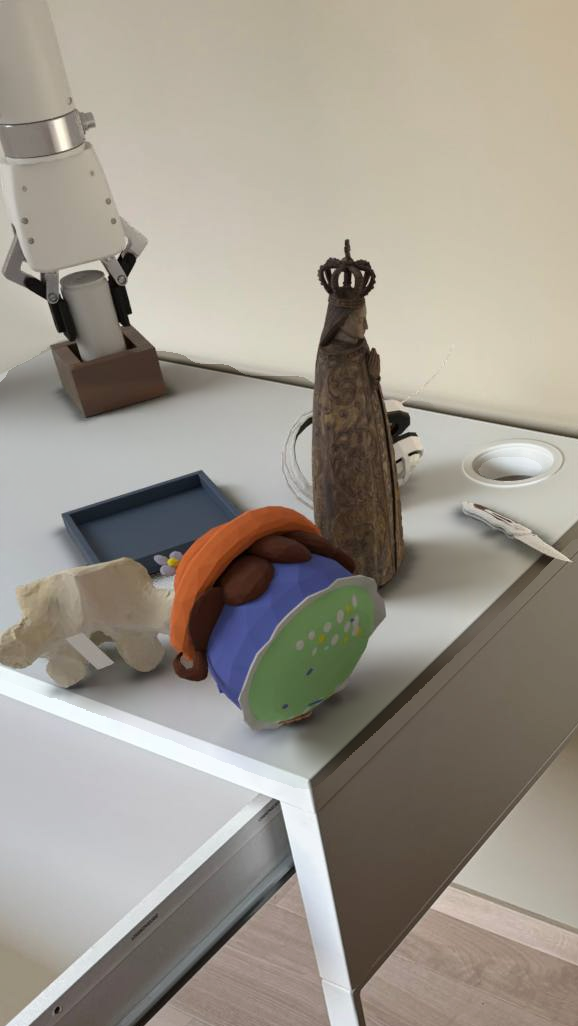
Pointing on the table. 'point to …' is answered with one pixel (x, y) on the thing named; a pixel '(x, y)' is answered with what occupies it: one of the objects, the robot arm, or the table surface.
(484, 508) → the pocket knife
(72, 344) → the can holder
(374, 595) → the toy
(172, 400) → the table surface
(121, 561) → the decorative object
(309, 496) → the headphones
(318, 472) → the statue
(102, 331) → the beverage can
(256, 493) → the table surface
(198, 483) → the tray
